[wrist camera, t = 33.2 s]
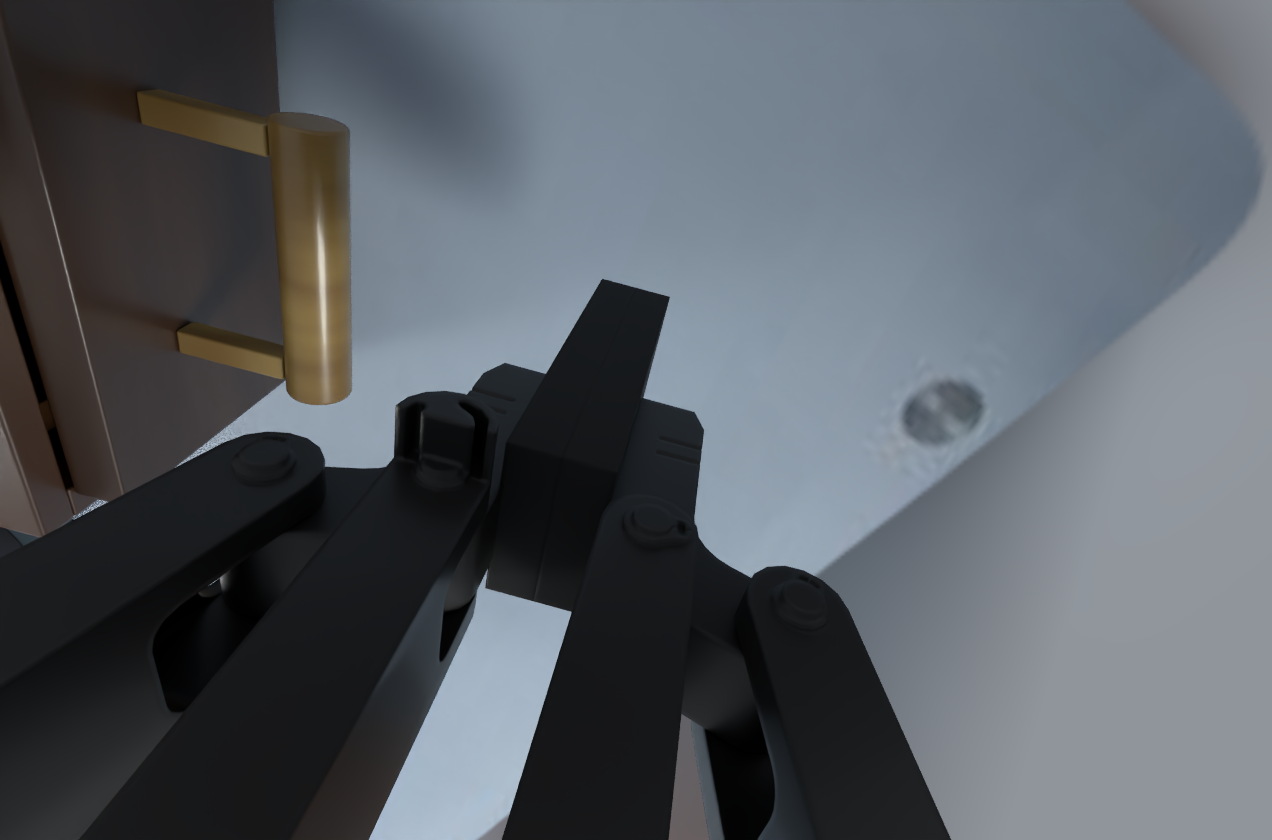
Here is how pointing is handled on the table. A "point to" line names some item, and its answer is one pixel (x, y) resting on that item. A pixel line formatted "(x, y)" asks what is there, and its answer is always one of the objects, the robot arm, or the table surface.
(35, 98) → the drawer
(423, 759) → the table surface
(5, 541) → the ball-topped pink peg
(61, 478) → the cabinet
